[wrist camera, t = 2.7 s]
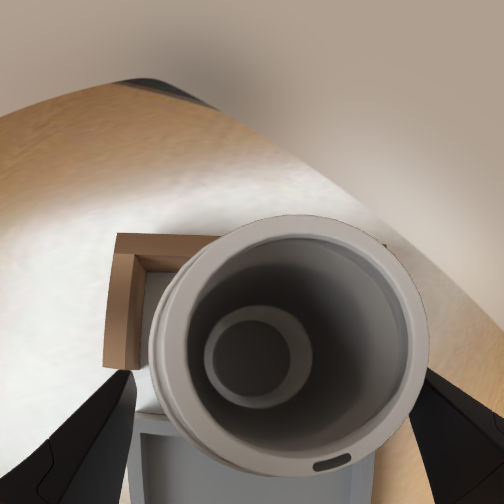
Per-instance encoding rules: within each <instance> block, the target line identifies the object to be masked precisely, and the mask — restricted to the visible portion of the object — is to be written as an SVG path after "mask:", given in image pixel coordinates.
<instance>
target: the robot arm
mask: <svg viewBox="0 0 504 504" xmlns="http://www.w3.org/2000/svg"><path fill="white" fill-rule="evenodd" d="M136 398H137V387H136V383H135V380H134V376H133V373H132V371H130V370H123V369H119V370H117V371H116V372H115V373H114V374H113V375H112V376H111V377H110V378H109V379H108V380H107V381H106V382H105V383H104V384H103V385H102V386H101V387H100V388H99V389H98V390H97V391H96V392H95V393H94V394H93V395H92V396H91V397H90V398H89V399H88V400H86V401H85V402H84V403H83V404H82V405H81V406H80V407H79V408H78V409H77V410H76V411H75V412H74V413H73V414H72V415H71V416H70V417H69V418H68V419H67V420H66V421H65V422H64V423H63V424H62V425H61V426H60V427H59V428H58V429H57V430H56V431H55V432H54V433H53V434H52V435H51V436H50V437H49V439H47V440H46V441H45V442H44V443H43V444H42V445H41V446H40V447H38V448H37V449H36V450H35V451H34V452H33V453H32V454H31V455H30V456H29V457H27V458H26V459H25V460H24V461H22V462H21V463H20V464H19V465H17V466H16V467H15V468H13V469H12V470H11V471H10V472H8V473H7V474H6V475H4V476H3V477H2V478H0V504H119V499H120V494H121V489H122V483H123V478H124V473H125V468H126V464H127V459H128V454H129V450H130V445H131V440H132V434H133V425H134V416H135V407H136ZM409 418H410V422H411V425H412V429H413V432H414V435H415V438H416V441H417V444H418V447H419V450H420V453H421V456H422V459H423V463H424V466H425V469H426V473H427V476H428V480H429V483H430V487H431V490H432V494H433V498H434V502H435V504H504V418H502V417H501V416H499V415H498V414H496V413H495V412H492V410H490V409H489V408H487V407H486V406H484V405H483V404H481V403H480V402H478V401H477V400H475V399H474V398H472V397H471V396H469V395H468V394H466V393H465V392H463V391H462V390H460V389H459V388H457V387H456V386H454V385H453V384H451V383H450V382H448V381H447V380H446V379H444V378H443V377H441V376H440V375H438V374H437V373H435V372H434V371H432V370H431V369H429V368H428V367H427V370H426V375H425V379H424V383H423V386H422V388H421V390H420V393H419V395H418V398H417V400H416V402H415V404H414V406H413V408H412V410H411V411H410V413H409Z"/></svg>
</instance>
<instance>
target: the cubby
mask: <svg viewBox="0 0 504 504" xmlns="http://www.w3.org/2000/svg"><path fill="white" fill-rule="evenodd" d="M220 237H222V236H201V235H173V234H143V233H117V237H116V243H115V249H114V255H113V262H112V268H111V276H110V283H109V291H108V300H107V310H106V320H105V333H104V348H103V367H106V368H113V369H123V370H140V346H141V328H142V314H143V301H144V290H145V280H146V271H149V272H169V273H178V271H179V270H180V269H181V267H182V266H183V265H184V264H185V263H186V262H188V261H189V260H190V259H191V258H192V257H193V256H194V255H195V254H197V253H198V252H199V251H200V250H201V249H202V248H203V247H205V246H207V245H208V244H210V243H212V242H213V241H215V240H217V239H219V238H220ZM382 245H383V246H384V247H385V248H387V247H386V244H382Z"/></svg>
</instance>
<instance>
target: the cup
mask: <svg viewBox="0 0 504 504" xmlns="http://www.w3.org/2000/svg"><path fill="white" fill-rule="evenodd" d="M148 358H149V369H150V375H151V379H152V383H153V387H154V390H155V393H156V396H157V398H158V400H159V402H160V405H161V407H162V408H163V410H164V412H165V414H166V415H167V417H168V418H169V420H170V421H171V423H172V424H173V426H174V427H175V428H176V429H177V431H178V432H179V433H180V434H181V435H182V436H183V437H184V438H185V439H186V440H187V441H188V442H189V443H190V444H192V445H193V446H194V447H195V448H197V449H198V450H199V451H201V452H202V453H204V454H205V455H206V456H208V457H209V458H211V459H213V460H215V461H217V462H219V463H221V464H223V465H226V466H228V467H230V468H232V469H235V470H237V471H241V472H245V473H249V474H254V475H259V476H264V477H289V478H297V477H311V476H317V475H322V474H326V473H331V472H334V471H337V470H340V469H342V468H345V467H347V466H349V465H352V464H354V463H356V462H358V461H360V460H361V459H363V458H365V457H366V456H368V455H369V454H371V453H372V452H374V451H375V450H376V449H378V448H379V447H381V446H382V445H383V444H384V443H385V442H386V441H387V440H388V439H389V438H390V437H391V436H392V435H393V434H394V433H395V432H396V431H397V430H398V429H399V427H400V426H401V425H402V423H403V422H404V420H405V419H406V417H407V416H408V414H409V413H410V411H411V410H412V408H413V406H414V404H415V402H416V400H417V398H418V395H419V393H420V390H421V388H422V386H423V383H424V379H425V375H426V370H427V366H428V358H429V331H428V324H427V317H426V313H425V310H424V306H423V303H422V300H421V297H420V294H419V292H418V290H417V288H416V286H415V284H414V283H413V281H412V279H411V277H410V275H409V273H408V272H407V271H406V269H405V268H404V267H403V266H402V264H401V263H400V262H399V261H398V259H397V258H396V257H395V256H394V255H393V254H392V253H391V252H390V251H389V250H388V249H387V248H385V247H384V246H383V245H382V244H381V243H380V242H379V241H377V240H376V239H374V238H373V237H371V236H369V235H368V234H366V233H365V232H363V231H361V230H360V229H358V228H356V227H353V226H351V225H348V224H345V223H343V222H340V221H337V220H335V219H330V218H324V217H319V216H314V215H283V216H277V217H271V218H266V219H261V220H258V221H256V222H253V223H250V224H247V225H245V226H243V227H240V228H238V229H236V230H234V231H232V232H230V233H227V234H225V235H224V236H222V237H220V238H219V239H217V240H215V241H213V242H212V243H210V244H208V245H207V246H205V247H203V248H202V249H201V250H200V251H199V252H198V253H197V254H195V255H194V256H193V257H192V258H191V259H190V260H189V261H188V262H186V263H185V264H184V265H183V266H182V267H181V269H180V270H179V271H178V273H177V274H176V275H175V277H174V278H173V280H172V281H171V282H170V284H169V285H168V286H167V288H166V289H165V291H164V293H163V295H162V297H161V299H160V301H159V303H158V306H157V309H156V311H155V314H154V317H153V321H152V325H151V330H150V336H149V345H148Z"/></svg>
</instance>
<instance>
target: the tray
mask: <svg viewBox="0 0 504 504" xmlns="http://www.w3.org/2000/svg"><path fill="white" fill-rule="evenodd" d="M374 464H375V451H374V452H372V453H371V454H369V455H368V456H366V457H365V458H363V459H361V460H360V461H358V462H356V463H354V464H352V465H349V466H347V467H345V468H342V469H340V470H337V471H334V472H331V473H326V474H322V475H317V476H311V477H297V478H289V477H264V476H259V475H254V474H249V473H245V472H241V471H237V470H235V469H232V468H230V467H228V466H226V465H223V464H221V463H219V462H217V461H215V460H213V459H211V458H209V457H208V456H206V455H205V454H204V453H202V452H201V451H199V450H198V449H197V448H195V447H194V446H193V445H192V444H190V443H189V442H188V441H187V440H186V439H185V438H184V437H183V436H182V435H181V434H180V433H179V432H178V431H177V429H176V428H175V427H174V426H173V424H172V423H171V421H170V420H169V418H168V417H167V415H160V414H151V413H142V412H135V416H134V425H133V434H132V440H131V445H130V450H129V454H128V459H127V467H128V480H129V490H130V500H131V504H371V496H372V487H373V476H374Z"/></svg>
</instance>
